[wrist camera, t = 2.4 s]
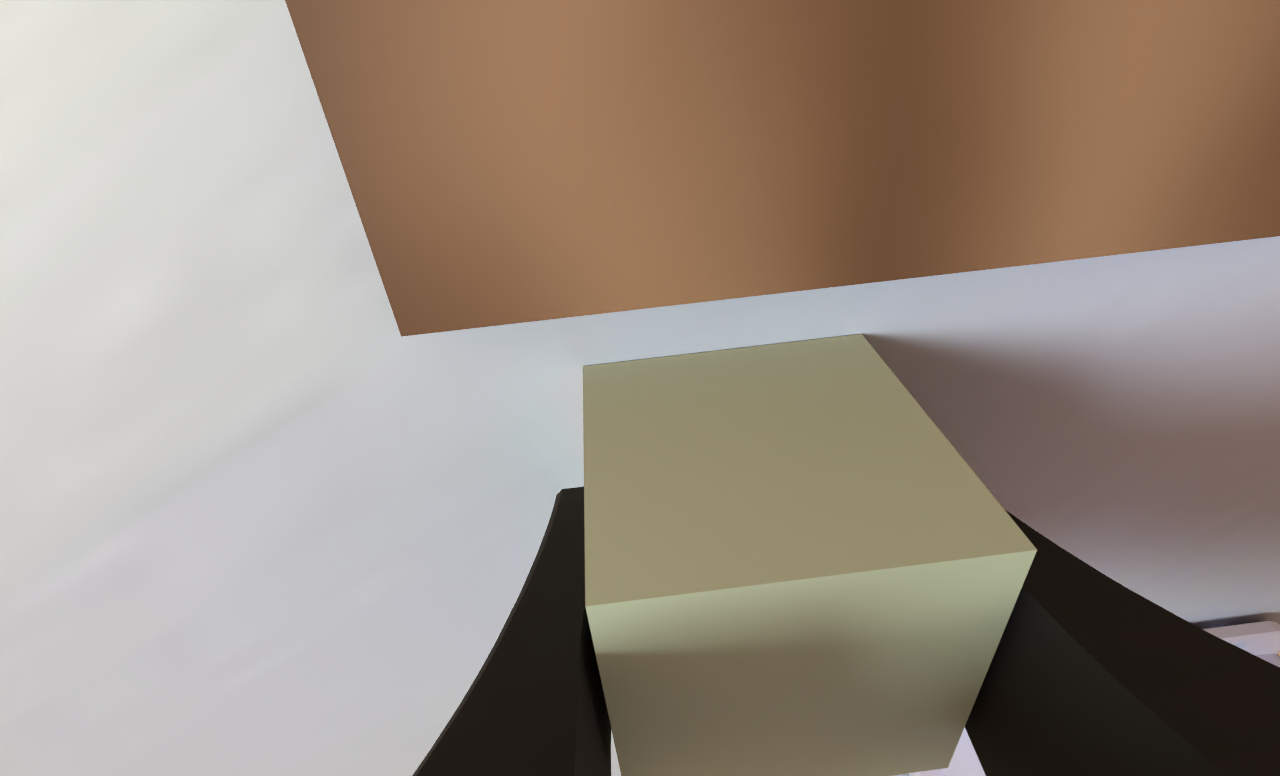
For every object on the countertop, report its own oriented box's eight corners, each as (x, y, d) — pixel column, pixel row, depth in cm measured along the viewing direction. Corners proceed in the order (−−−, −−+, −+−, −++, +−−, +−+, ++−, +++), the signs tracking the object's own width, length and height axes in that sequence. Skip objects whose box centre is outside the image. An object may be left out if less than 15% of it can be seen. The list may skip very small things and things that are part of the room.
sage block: (861, 334, 11) (1036, 549, 7) (835, 529, 14) (948, 768, 9) (582, 366, 11) (585, 607, 7) (613, 556, 14) (628, 810, 9)
